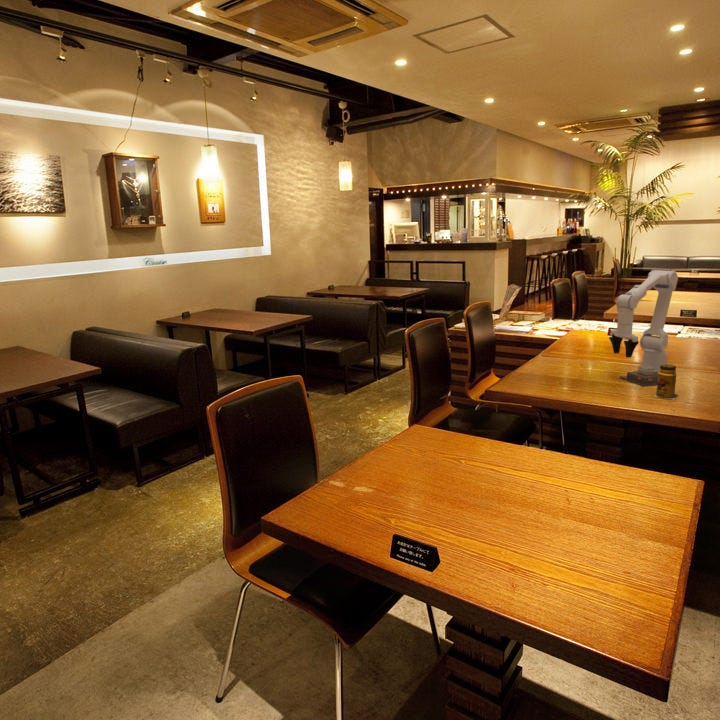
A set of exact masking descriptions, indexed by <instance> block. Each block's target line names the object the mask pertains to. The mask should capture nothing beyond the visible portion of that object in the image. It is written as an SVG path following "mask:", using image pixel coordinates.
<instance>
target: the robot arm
mask: <svg viewBox="0 0 720 720" xmlns="http://www.w3.org/2000/svg"><path fill="white" fill-rule="evenodd" d="M678 280H679V275H678V274H677V272H676V271H675V270H659V269H652V270H651V271H650V272H648V274H647V278H645V280H644V281H643V282H642V283H641V284H635V285H633V287H632V288H631V289H630V290H628V291H627V292H626V293H625V294H621V295H619V296H617V299H616V301H615V306H616V311H617V313H618V314H617V326H616V330H611V331H610V336H609V338H608V339H609V341H610V343H611V346H612V351H613V354H615V355H616V354H620V351H621V346H622V342H623V343H624V347H625V348H624V349H625V357H626V358H627V359H628V358H632V356H633V355H634V354H633V353H634V351H635V349H636V347H637V346H638V345H639V347H640V348H641V350H642V351H643V353H642V364H641V365H645V364H648V365H651V366H654V369H655V370H654V372H655V373H659V372H660V366H661V365H668V360H669V359H668V353H667V351H666V349H667V348H668V346H669V342H668V341H669V335H668V333H667V332H666V331H665V330H664V328H665V323H666V319H667V316H668V312H669V307H670V303H671V299H672V295H673V292H675V291H676V289H677V285H678ZM651 289H654V290H656V291H657V292H658V293H657V298H656V302H655V306H654V310H653V314H652V315H653V316H652V319H651V322H650V325H649V326H650V327H649V328H648V329H646V330H644V331H643V333H642V336H641V337H640V340H639V336H636V335H634V334H633V324H634V313H635V309H637V307H638V304H639V303H640V301H641V300H642V299H643V298H644V297H646V295H647V293H648V291H649V290H651ZM637 369H638V370H639V367H637Z"/></svg>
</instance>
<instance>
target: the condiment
mask: <svg viewBox="0 0 720 720" xmlns="http://www.w3.org/2000/svg"><path fill="white" fill-rule="evenodd" d="M676 369H677V367H676V365H673V364H667V365H661V366H660V372H657V373H658V381H657V386H656V393H655V394H654V395H653V396H652V397H655V398H659V399H666V400H676V398H678V396H679V394H680V393H676V382H677V373H676V371H677V370H676Z"/></svg>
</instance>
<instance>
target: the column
mask: <svg viewBox="0 0 720 720" xmlns="http://www.w3.org/2000/svg"><path fill="white" fill-rule="evenodd" d="M638 368H639V369H638V370H637V371H639V373H638V374H641V375H644V376H650V375H654V370H655V369H654V366H651V365H648V364H645V365H642V364H639V365H638Z"/></svg>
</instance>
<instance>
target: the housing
mask: <svg viewBox="0 0 720 720" xmlns="http://www.w3.org/2000/svg"><path fill="white" fill-rule="evenodd" d="M638 373H639V371H638V370H634V371H627V373H626V375H620V376H619V379H620V378H621V380H623V381H625V382H629V383H631V384H634V385H637V386H640V387H642V388H646V387H655V386H656V387H657V381H658V373H659V372H654V375H650V376H644V375H641V374H638Z"/></svg>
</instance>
